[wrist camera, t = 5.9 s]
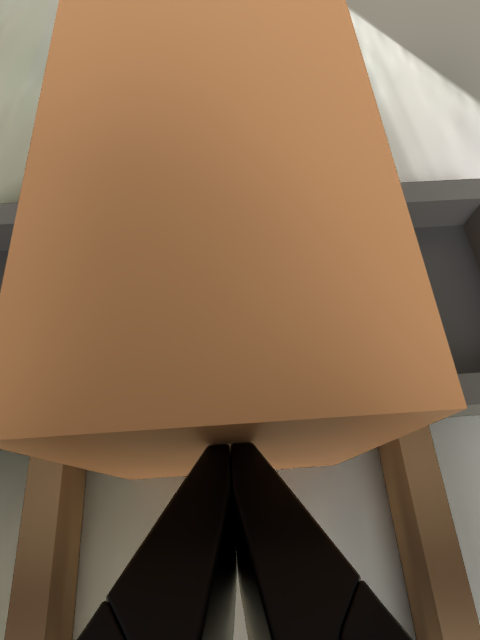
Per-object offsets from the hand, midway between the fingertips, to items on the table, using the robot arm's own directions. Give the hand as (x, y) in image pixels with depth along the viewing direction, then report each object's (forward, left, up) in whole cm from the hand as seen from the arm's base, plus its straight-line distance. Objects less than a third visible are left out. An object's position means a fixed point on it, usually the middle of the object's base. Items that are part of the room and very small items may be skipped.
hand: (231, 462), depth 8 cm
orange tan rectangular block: (+8, 0, -7) cm, 10 cm away
